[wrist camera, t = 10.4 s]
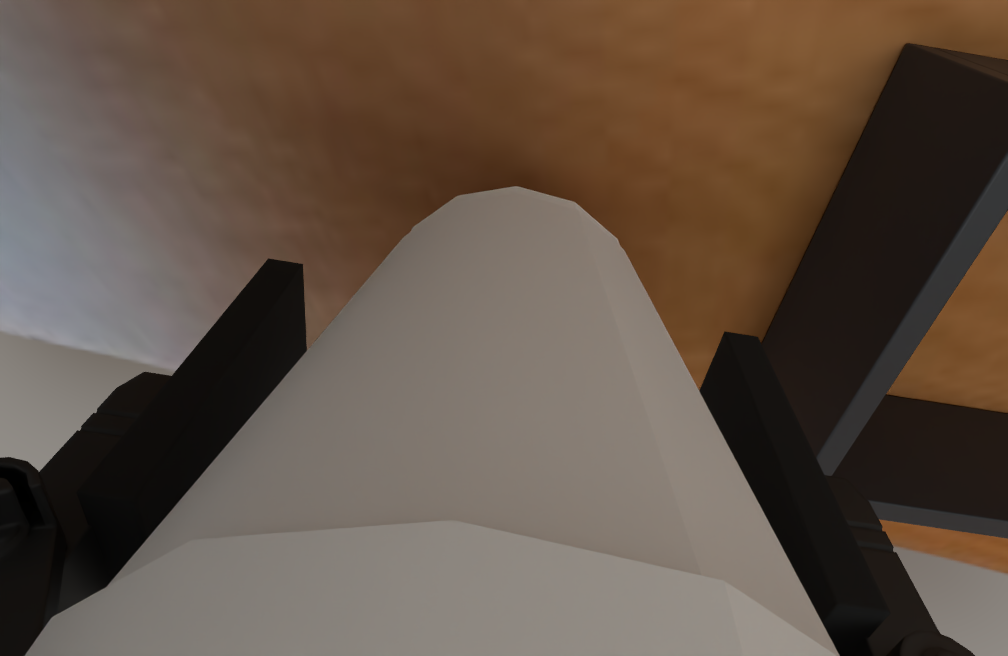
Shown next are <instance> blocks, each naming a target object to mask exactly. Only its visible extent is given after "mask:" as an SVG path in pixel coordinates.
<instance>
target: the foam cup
mask: <svg viewBox="0 0 1008 656" xmlns="http://www.w3.org/2000/svg"><path fill="white" fill-rule="evenodd" d="M25 656H840V655H839V654H838V652H837V650H836V648H835V646H834V644H833V642H832V640H831V639H830V637H829V635H828V633H827V631H826V629H825V627H824V625H823V623H822V622H821V620H820V618H819V616H818V614H817V612H816V610H815V608H814V606H813V605H812V603H811V601H810V599H809V597H808V595H807V593H806V591H805V590H804V588H803V586H802V584H801V582H800V580H799V578H798V576H797V574H796V573H795V571H794V569H793V567H792V565H791V563H790V561H789V559H788V558H787V556H786V554H785V552H784V550H783V548H782V546H781V544H780V542H779V541H778V539H777V537H776V535H775V533H774V531H773V529H772V527H771V526H770V524H769V522H768V520H767V518H766V516H765V514H764V512H763V510H762V509H761V507H760V505H759V503H758V501H757V499H756V497H755V495H754V493H753V492H752V490H751V488H750V486H749V484H748V482H747V480H746V478H745V477H744V475H743V473H742V471H741V469H740V467H739V465H738V463H737V461H736V460H735V458H734V456H733V454H732V452H731V450H730V448H729V446H728V445H727V443H726V441H725V439H724V437H723V435H722V433H721V431H720V429H719V428H718V426H717V424H716V422H715V420H714V418H713V416H712V414H711V413H710V411H709V409H708V407H707V405H706V403H705V401H704V399H703V397H702V396H701V394H700V392H699V390H698V388H697V386H696V384H695V382H694V381H693V379H692V377H691V375H690V373H689V371H688V369H687V367H686V365H685V364H684V362H683V360H682V358H681V356H680V354H679V352H678V350H677V348H676V347H675V345H674V343H673V341H672V339H671V337H670V335H669V333H668V332H667V330H666V328H665V326H664V324H663V322H662V320H661V318H660V316H659V315H658V313H657V311H656V309H655V307H654V305H653V303H652V301H651V300H650V298H649V296H648V294H647V292H646V290H645V288H644V286H643V284H642V283H641V281H640V279H639V277H638V275H637V273H636V271H635V269H634V268H633V266H632V264H631V262H630V260H629V258H628V256H627V254H626V252H625V251H624V249H623V248H622V247H621V246H620V244H619V241H618V239H617V238H616V237H615V236H613V235H612V234H611V233H610V232H609V231H608V230H607V229H605V228H604V227H603V226H602V225H601V224H600V223H598V222H597V221H596V220H595V219H594V218H593V217H592V216H590V215H589V214H588V213H587V212H586V211H585V210H584V209H582V208H581V207H580V206H579V205H578V204H577V203H575V202H573V201H569V200H565V199H562V198H558V197H555V196H551V195H547V194H544V193H540V192H536V191H533V190H529V189H525V188H522V187H518V186H514V187H508V188H501V189H495V190H489V191H483V192H477V193H471V194H465V195H459V196H456V197H455V198H453V199H452V200H450V201H449V202H448V203H446V204H445V205H443V206H442V207H441V208H439V209H438V210H436V211H435V212H434V213H432V214H431V215H429V216H428V217H427V218H425V219H424V220H422V221H421V222H420V223H418V224H417V225H415V226H414V227H413V228H412V230H411V232H410V233H408V234H407V235H406V236H404V237H403V238H402V239H401V241H400V242H399V243H398V244H397V245H396V247H395V248H394V249H393V250H392V251H391V252H390V254H389V255H388V256H387V257H386V258H385V259H384V261H383V262H382V263H381V264H380V265H379V267H378V268H377V269H376V270H375V271H374V272H373V274H372V275H371V276H370V277H369V278H368V279H367V281H366V282H365V283H364V284H363V285H362V287H361V288H360V289H359V290H358V291H357V292H356V294H355V295H354V296H353V297H352V298H351V300H350V301H349V302H348V303H347V304H346V305H345V307H344V308H343V309H342V310H341V311H340V312H339V314H338V315H337V316H336V317H335V318H334V320H333V321H332V322H331V323H330V324H329V325H328V327H327V328H326V329H325V330H324V331H323V332H322V334H321V335H320V336H319V337H318V338H317V340H316V341H315V342H314V343H313V344H312V345H311V347H310V348H309V349H308V350H307V351H306V353H305V354H304V355H303V356H302V357H301V358H300V360H299V361H298V362H297V363H296V364H295V365H294V367H293V368H292V369H291V370H290V371H289V373H288V374H287V375H286V376H285V377H284V378H283V380H282V381H281V382H280V383H279V384H278V385H277V387H276V388H275V389H274V390H273V391H272V393H271V394H270V395H269V396H268V397H267V398H266V400H265V401H264V402H263V403H262V404H261V406H260V407H259V408H258V409H257V410H256V411H255V413H254V414H253V415H252V416H251V417H250V418H249V420H248V421H247V422H246V423H245V424H244V426H243V427H242V428H241V429H240V430H239V431H238V433H237V434H236V435H235V436H234V437H233V438H232V440H231V441H230V442H229V443H228V444H227V446H226V447H225V448H224V449H223V450H222V451H221V453H220V454H219V455H218V456H217V457H216V459H215V460H214V461H213V462H212V463H211V464H210V466H209V467H208V468H207V469H206V470H205V471H204V473H203V474H202V475H201V476H200V477H199V479H198V480H197V481H196V482H195V483H194V484H193V486H192V487H191V488H190V489H189V490H188V491H187V493H186V494H185V495H184V496H183V497H182V499H181V500H180V501H179V502H178V503H177V504H176V506H175V507H174V508H173V509H172V510H171V511H170V513H169V514H168V515H167V516H166V517H165V519H164V520H163V521H162V522H161V523H160V524H159V526H158V527H157V528H156V529H155V530H154V532H153V533H152V534H151V535H150V536H149V537H148V539H147V540H146V541H145V542H144V543H143V544H142V546H141V547H140V548H139V549H138V550H137V552H136V553H135V554H134V555H133V556H132V557H131V559H130V560H129V561H128V562H127V563H126V564H125V566H124V567H123V568H122V569H121V570H120V572H119V573H118V574H117V575H116V576H115V577H114V579H113V580H112V581H111V582H110V583H109V585H108V586H107V587H106V588H104V589H102V590H100V591H98V592H97V593H95V594H93V595H91V596H89V597H88V598H86V599H84V600H82V601H80V602H79V603H77V604H75V605H73V606H71V607H70V608H68V609H66V610H64V611H62V612H61V613H59V614H57V615H55V616H53V617H52V618H51V619H50V621H49V622H48V623H47V625H46V626H45V628H44V629H43V630H42V632H41V633H40V635H39V636H38V637H37V639H36V640H35V642H34V643H33V645H32V646H31V647H30V649H29V650H28V652H27V653H26V654H25Z"/></svg>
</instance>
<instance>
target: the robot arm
mask: <svg viewBox="0 0 1008 656" xmlns="http://www.w3.org/2000/svg"><path fill="white" fill-rule="evenodd" d="M306 351H307V346H306V324H305V302H304V280H303V264H299V263H293V262H286V261H280V260H274V259H268V260H267V261H266V262H265V263H264V265H263V266H262V267H261V268H260V269H259V271H258V272H257V273H256V274H255V275H254V277H253V278H252V279H251V280H250V282H249V283H248V284H247V285H246V286H245V288H244V289H243V290H242V291H241V292H240V294H239V295H238V296H237V297H236V299H235V300H234V301H233V302H232V303H231V305H230V306H229V307H228V308H227V309H226V311H225V312H224V313H223V314H222V316H221V317H220V318H219V319H218V320H217V322H216V323H215V324H214V325H213V326H212V328H211V329H210V330H209V331H208V333H207V334H206V335H205V336H204V337H203V339H202V340H201V341H200V342H199V343H198V345H197V346H196V347H195V348H194V350H193V351H192V352H191V353H190V354H189V356H188V357H187V358H186V359H185V360H184V362H183V363H182V364H181V365H180V367H179V368H178V369H177V370H176V371H175V373H174V374H173V375H172V376H169V375H162V374H156V373H149V372H143V373H141V374H140V375H138V376H136V377H134V378H133V379H131V380H129V381H128V382H126V383H125V384H122V385H121V386H119V387H117V388H116V389H115V390H114V391H113V392H112V393H111V394H110V396H109V397H108V398H107V399H106V400H105V401H104V402H103V403H102V404H101V405H100V407H99V408H98V409H97V413H93V414H92V415H91V416H90V417H89V418H88V419H87V421H86V422H85V423H84V424H83V425H82V426H81V427H82V428H81V430H80V431H76V433H75V434H74V435H73V436H72V437H71V438H70V439H69V440H68V441H67V442H66V443H65V444H64V446H63V447H62V448H61V449H60V450H59V451H58V452H57V453H56V454H55V455H54V456H53V458H52V459H51V460H50V461H49V462H48V463H47V464H46V465H45V466H44V467H43V469H42V470H41V471H40V472H38V470H37V469H35V468H34V467H33V466H32V465H31V464H30V463H29V462H27V461H23V460H19V459H15V458H11V457H5V458H0V656H25V654H26V653H27V652H28V650H29V649H30V647H31V646H32V645H33V643H34V642H35V640H36V639H37V637H38V636H39V635H40V633H41V632H42V630H43V629H44V628H45V626H46V625H47V623H48V622H49V621H50V619H51V618H52V617H53V616H55V615H57V614H59V613H61V612H62V611H64V610H66V609H68V608H70V607H71V606H73V605H75V604H77V603H79V602H80V601H82V600H84V599H86V598H88V597H89V596H91V595H93V594H95V593H97V592H98V591H100V590H102V589H104V588H106V587H107V586H108V585H109V583H110V582H111V581H112V580H113V579H114V577H115V576H116V575H117V574H118V573H119V572H120V570H121V569H122V568H123V567H124V566H125V564H126V563H127V562H128V561H129V560H130V559H131V557H132V556H133V555H134V554H135V553H136V552H137V550H138V549H139V548H140V547H141V546H142V544H143V543H144V542H145V541H146V540H147V539H148V537H149V536H150V535H151V534H152V533H153V532H154V530H155V529H156V528H157V527H158V526H159V524H160V523H161V522H162V521H163V520H164V519H165V517H166V516H167V515H168V514H169V513H170V511H171V510H172V509H173V508H174V507H175V506H176V504H177V503H178V502H179V501H180V500H181V499H182V497H183V496H184V495H185V494H186V493H187V491H188V490H189V489H190V488H191V487H192V486H193V484H194V483H195V482H196V481H197V480H198V479H199V477H200V476H201V475H202V474H203V473H204V471H205V470H206V469H207V468H208V467H209V466H210V464H211V463H212V462H213V461H214V460H215V459H216V457H217V456H218V455H219V454H220V453H221V451H222V450H223V449H224V448H225V447H226V446H227V444H228V443H229V442H230V441H231V440H232V438H233V437H234V436H235V435H236V434H237V433H238V431H239V430H240V429H241V428H242V427H243V426H244V424H245V423H246V422H247V421H248V420H249V418H250V417H251V416H252V415H253V414H254V413H255V411H256V410H257V409H258V408H259V407H260V406H261V404H262V403H263V402H264V401H265V400H266V398H267V397H268V396H269V395H270V394H271V393H272V391H273V390H274V389H275V388H276V387H277V385H278V384H279V383H280V382H281V381H282V380H283V378H284V377H285V376H286V375H287V374H288V373H289V371H290V370H291V369H292V368H293V367H294V365H295V364H296V363H297V362H298V361H299V360H300V358H301V357H302V356H303V355H304V354H305V353H306ZM699 392H700V394H701V396H702V397H703V399H704V401H705V403H706V405H707V407H708V409H709V411H710V413H711V414H712V416H713V418H714V420H715V422H716V424H717V426H718V428H719V429H720V431H721V433H722V435H723V437H724V439H725V441H726V443H727V445H728V446H729V448H730V450H731V452H732V454H733V456H734V458H735V460H736V461H737V463H738V465H739V467H740V469H741V471H742V473H743V475H744V477H745V478H746V480H747V482H748V484H749V486H750V488H751V490H752V492H753V493H754V495H755V497H756V499H757V501H758V503H759V505H760V507H761V509H762V510H763V512H764V514H765V516H766V518H767V520H768V522H769V524H770V526H771V527H772V529H773V531H774V533H775V535H776V537H777V539H778V541H779V542H780V544H781V546H782V548H783V550H784V552H785V554H786V556H787V558H788V559H789V561H790V563H791V565H792V567H793V569H794V571H795V573H796V574H797V576H798V578H799V580H800V582H801V584H802V586H803V588H804V590H805V591H806V593H807V595H808V597H809V599H810V601H811V603H812V605H813V606H814V608H815V610H816V612H817V614H818V616H819V618H820V620H821V622H822V623H823V625H824V627H825V629H826V631H827V633H828V635H829V637H830V639H831V640H832V642H833V644H834V646H835V648H836V650H837V652H838V654H839V655H840V656H975V655H974V654H973V653H971V651H969V650H968V649H966V648H965V647H963V646H962V645H960V644H959V643H957V642H956V641H954V640H953V639H951V638H949V637H946V636H944V635H941V634H940V632H939V631H938V629H937V627H936V626H935V624H934V622H933V620H932V618H931V616H930V614H929V612H928V611H927V609H926V607H925V605H924V603H923V601H922V599H921V598H920V596H919V594H918V592H917V590H916V588H915V586H914V584H913V583H912V581H911V579H910V577H909V575H908V573H907V571H906V570H905V568H904V566H903V564H902V562H901V560H900V558H899V557H898V555H897V553H896V552H893V545H892V543H891V542H890V540H889V538H888V536H887V534H886V532H884V531H882V525H881V523H880V521H879V519H878V517H877V515H876V514H875V512H874V510H873V508H872V506H871V504H870V502H869V501H868V500H867V499H866V498H865V497H864V496H863V495H862V494H861V493H860V492H859V491H858V490H857V489H856V487H855V486H854V485H853V484H852V483H851V482H850V481H849V480H848V479H847V478H841V477H834V476H828V475H824V473H823V471H822V469H821V467H820V465H819V463H818V461H817V459H816V457H815V455H814V452H813V450H812V448H811V446H810V444H809V442H808V440H807V438H806V436H805V434H804V432H803V430H802V428H801V425H800V423H799V421H798V419H797V417H796V415H795V413H794V411H793V409H792V407H791V405H790V403H789V401H788V399H787V396H786V394H785V392H784V390H783V388H782V386H781V384H780V382H779V380H778V378H777V376H776V374H775V372H774V369H773V367H772V365H771V363H770V361H769V359H768V357H767V355H766V353H765V351H764V349H763V347H762V345H761V343H760V340H759V338H758V337H755V336H749V335H743V334H737V333H730V332H724V334H723V337H722V339H721V341H720V344H719V346H718V348H717V351H716V353H715V356H714V358H713V360H712V363H711V365H710V367H709V370H708V372H707V374H706V377H705V379H704V381H703V384H702V386H701V388H700V391H699Z"/></svg>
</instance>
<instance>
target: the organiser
mask: <svg viewBox="0 0 1008 656" xmlns="http://www.w3.org/2000/svg"><path fill="white" fill-rule="evenodd" d="M1007 210H1008V60H1003V59H997V58H991V57H986V56H980V55H974V54H968V53H963V52H957V51H951V50H945V49H940V48H932V47H928V46H922V45H916V44H910V43H909V44H906V45H905V47H904V49H903V51H902V53H901V55H900V57H899V60H898V62H897V64H896V66H895V68H894V70H893V72H892V74H891V76H890V78H889V80H888V82H887V85H886V87H885V89H884V91H883V93H882V95H881V97H880V99H879V101H878V103H877V105H876V107H875V110H874V112H873V114H872V116H871V118H870V120H869V122H868V124H867V126H866V128H865V130H864V132H863V135H862V137H861V139H860V141H859V143H858V145H857V147H856V149H855V151H854V153H853V155H852V157H851V160H850V162H849V164H848V166H847V168H846V170H845V172H844V174H843V176H842V178H841V180H840V182H839V185H838V187H837V189H836V191H835V193H834V195H833V197H832V199H831V201H830V203H829V205H828V207H827V210H826V212H825V214H824V216H823V218H822V220H821V222H820V224H819V226H818V228H817V230H816V232H815V234H814V237H813V239H812V241H811V243H810V245H809V247H808V249H807V251H806V253H805V255H804V257H803V259H802V262H801V264H800V266H799V268H798V270H797V272H796V274H795V276H794V278H793V280H792V282H791V284H790V287H789V289H788V291H787V293H786V295H785V297H784V299H783V301H782V303H781V305H780V307H779V309H778V312H777V314H776V316H775V318H774V320H773V322H772V324H771V326H770V328H769V330H768V332H767V334H766V337H765V339H764V341H763V343H762V347H763V349H764V351H765V353H766V355H767V357H768V359H769V361H770V363H771V365H772V367H773V369H774V372H775V374H776V376H777V378H778V380H779V382H780V384H781V386H782V388H783V390H784V392H785V394H786V396H787V399H788V401H789V403H790V405H791V407H792V409H793V411H794V413H795V415H796V417H797V419H798V421H799V423H800V425H801V428H802V430H803V432H804V434H805V436H806V438H807V440H808V442H809V444H810V446H811V448H812V450H813V452H814V455H815V457H816V459H817V461H818V463H819V465H820V467H821V469H822V471H823V473H824V475H828V476H834V477H841V478H847V479H848V480H849V481H850V482H851V483H852V484H853V485H854V486H855V487H856V489H857V490H858V491H859V492H860V493H861V494H862V495H863V496H864V497H865V498H866V499H867V500H868V501H869V502H870V504H871V506H872V508H873V510H874V512H875V514H876V515H877V517H878V519H881V520H888V521H894V522H901V523H908V524H914V525H921V526H928V527H935V528H941V529H948V530H955V531H962V532H968V533H975V534H982V535H989V536H995V537H1002V538H1008V414H1004V413H998V412H992V411H985V410H979V409H972V408H966V407H959V406H953V405H946V404H940V403H933V402H927V401H921V400H914V399H908V398H901V397H895V396H888V395H885V394H886V393H887V391H888V390H889V388H890V387H891V385H892V384H893V382H894V381H895V379H896V378H897V376H898V375H899V373H900V372H901V370H902V369H903V367H904V366H905V364H906V363H907V361H908V360H909V358H910V357H911V355H912V354H913V352H914V351H915V349H916V348H917V346H918V345H919V343H920V342H921V340H922V339H923V337H924V336H925V334H926V333H927V331H928V330H929V328H930V327H931V325H932V324H933V322H934V320H935V319H936V317H937V316H938V314H939V313H940V311H941V310H942V308H943V307H944V305H945V304H946V302H947V301H948V299H949V298H950V296H951V295H952V293H953V292H954V290H955V289H956V287H957V286H958V284H959V283H960V281H961V280H962V278H963V277H964V275H965V274H966V272H967V271H968V269H969V268H970V266H971V265H972V263H973V262H974V260H975V259H976V257H977V256H978V254H979V253H980V251H981V250H982V248H983V247H984V245H985V243H986V242H987V240H988V239H989V237H990V236H991V234H992V233H993V231H994V230H995V228H996V227H997V225H998V224H999V222H1000V221H1001V219H1002V218H1003V216H1004V215H1005V213H1006V212H1007Z"/></svg>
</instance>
